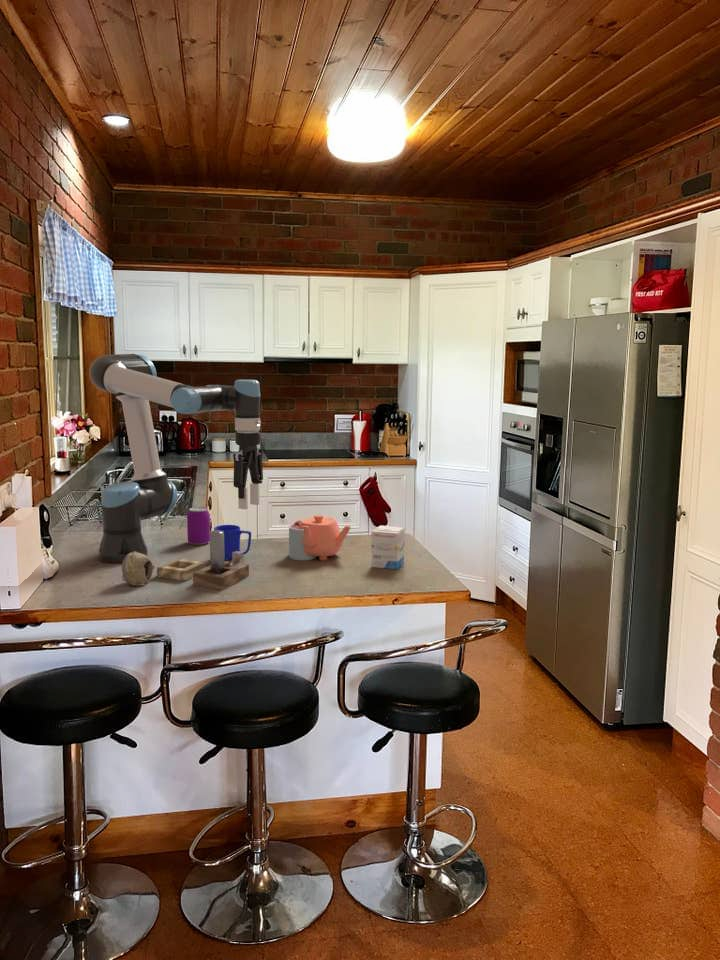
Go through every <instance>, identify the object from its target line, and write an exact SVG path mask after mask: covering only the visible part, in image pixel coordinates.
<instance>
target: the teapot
mask: <svg viewBox="0 0 720 960" xmlns="http://www.w3.org/2000/svg"><path fill="white" fill-rule="evenodd" d="M298 523H300V525H299V528H300V529H304V535H303V544H304V551H305V552H306V553H307V554H308V555H313V556H317V557H319V558H318V559H319V560H320V561H322V562H325V561H328V559H329V558H328V557H330V556H335V555H336V554H337V553H338V552H339V551H340V549H341V548H342V546H343V543H344V541H345V539H346V538H347V536H348V533H349V532H350V530H351V528H352V527H351V526H349V525H344V526H343V527H344V528H343V529H342V530H341V529H340V527H339V524H338V521H337V520H336V519H333V517H331V516H328V517H326V518H325V517H324V515H322V514H315V515H314V516H313V517H309V518H305V519H303V520H302V519H298V520H296V521H295V522H294V523H293V524H298Z"/></svg>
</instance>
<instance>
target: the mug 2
mask: <svg viewBox="0 0 720 960" xmlns="http://www.w3.org/2000/svg"><path fill="white" fill-rule="evenodd" d="M299 525H300V523H298V524H294V523H292V524H290V525H288V557H289V558H290V559H291V560H294V561H295V560H296V561H310V560H311V561H312V560H315V559H316V558H318V556H313V555H308V554H307V553H306V552H305V551H304V544H303V535H304V529H300V528H299Z"/></svg>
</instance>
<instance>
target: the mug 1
mask: <svg viewBox="0 0 720 960" xmlns="http://www.w3.org/2000/svg"><path fill="white" fill-rule="evenodd" d="M214 530H221V531H224V560H225V561H231V560H232V553H233V552H235V551H240V552H243V554H244V555H246V554H248V552H249V551H250V548H251V543H252V542H251V541H252V531H249V530H242V529H241V527H240V526H238V525H236V524H222V525H217V526H215V527H214V528H213V531H214ZM242 534H248V540H247V541H248V543H247V547H246V550H245V551H241V535H242Z"/></svg>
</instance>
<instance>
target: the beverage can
mask: <svg viewBox="0 0 720 960" xmlns="http://www.w3.org/2000/svg"><path fill="white" fill-rule="evenodd" d="M186 520H187V521H186V522H187V523H186V525H187V526H186V528H187V542H188V543H189V544H190V545H192V546H205V545H207V544H209V543H210V531H211V517H210V512H209V510H208V508H207V507H204V506H194V507H191V508H189V509H188V512H187V514H186ZM208 542H209V543H208ZM206 543H207V544H206ZM204 544H205V545H204Z"/></svg>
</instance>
